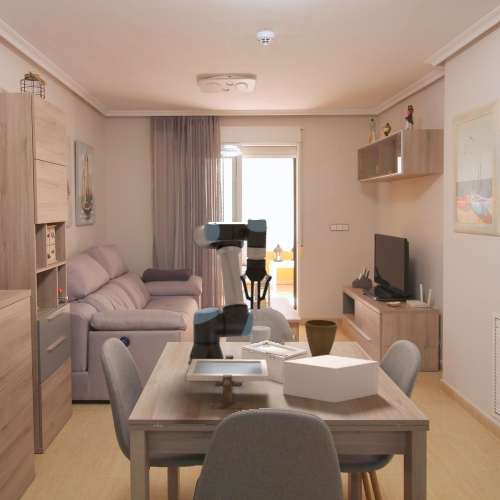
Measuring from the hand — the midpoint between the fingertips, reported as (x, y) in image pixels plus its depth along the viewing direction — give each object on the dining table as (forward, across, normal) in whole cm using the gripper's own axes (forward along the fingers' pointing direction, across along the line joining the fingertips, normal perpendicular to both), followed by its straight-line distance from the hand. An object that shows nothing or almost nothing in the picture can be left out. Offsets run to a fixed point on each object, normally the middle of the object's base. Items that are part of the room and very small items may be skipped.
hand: (255, 317), depth 207 cm
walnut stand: (+25, -10, -19) cm, 32 cm away
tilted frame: (+16, -10, -19) cm, 26 cm away
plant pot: (+26, +31, +32) cm, 52 cm away
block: (+25, +28, -17) cm, 41 cm away
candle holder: (+26, +4, +38) cm, 47 cm away
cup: (+26, +10, +22) cm, 35 cm away
